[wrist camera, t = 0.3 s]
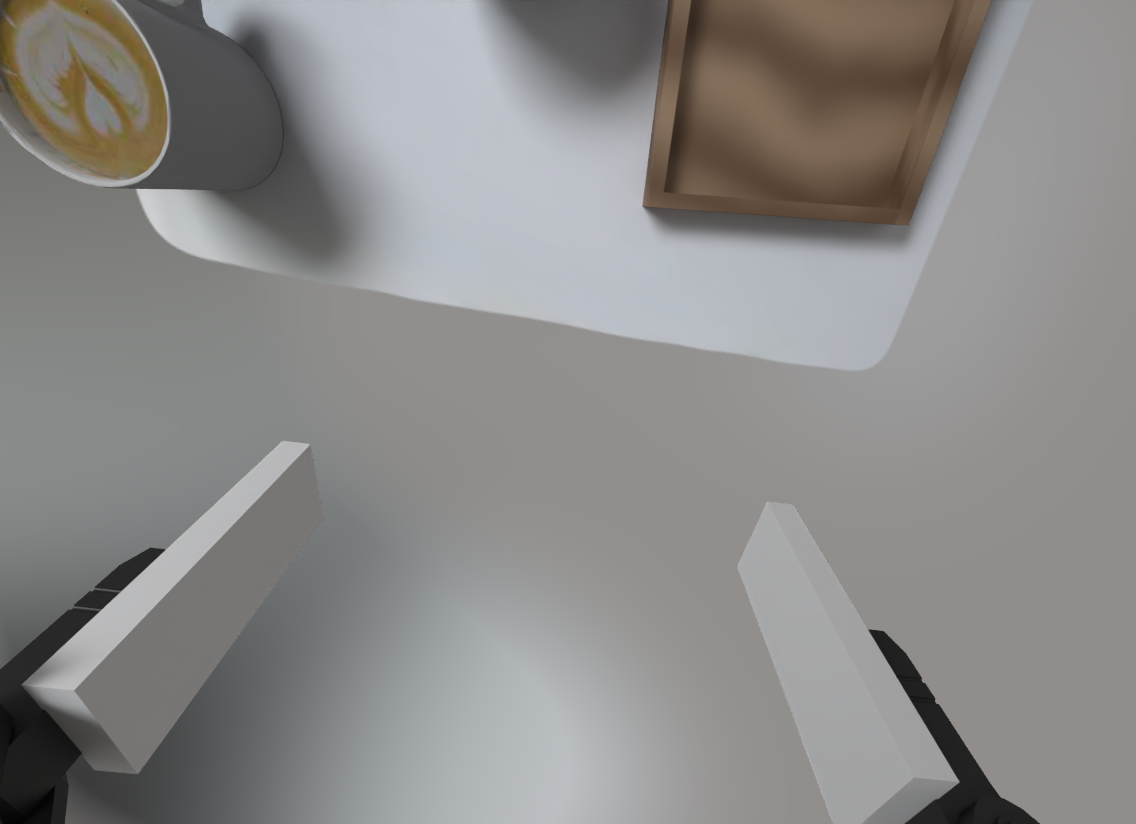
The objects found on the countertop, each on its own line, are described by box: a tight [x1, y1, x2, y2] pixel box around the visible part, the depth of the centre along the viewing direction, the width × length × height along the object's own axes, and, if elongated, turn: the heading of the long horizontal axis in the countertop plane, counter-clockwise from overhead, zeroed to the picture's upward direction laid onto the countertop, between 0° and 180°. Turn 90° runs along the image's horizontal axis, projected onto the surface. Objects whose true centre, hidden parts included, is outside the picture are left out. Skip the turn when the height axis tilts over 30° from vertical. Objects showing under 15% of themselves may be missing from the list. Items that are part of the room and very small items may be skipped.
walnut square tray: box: [643, 0, 992, 226], centre depth 29 cm, size 19×19×2 cm
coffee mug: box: [0, 0, 283, 190], centre depth 26 cm, size 13×10×10 cm
